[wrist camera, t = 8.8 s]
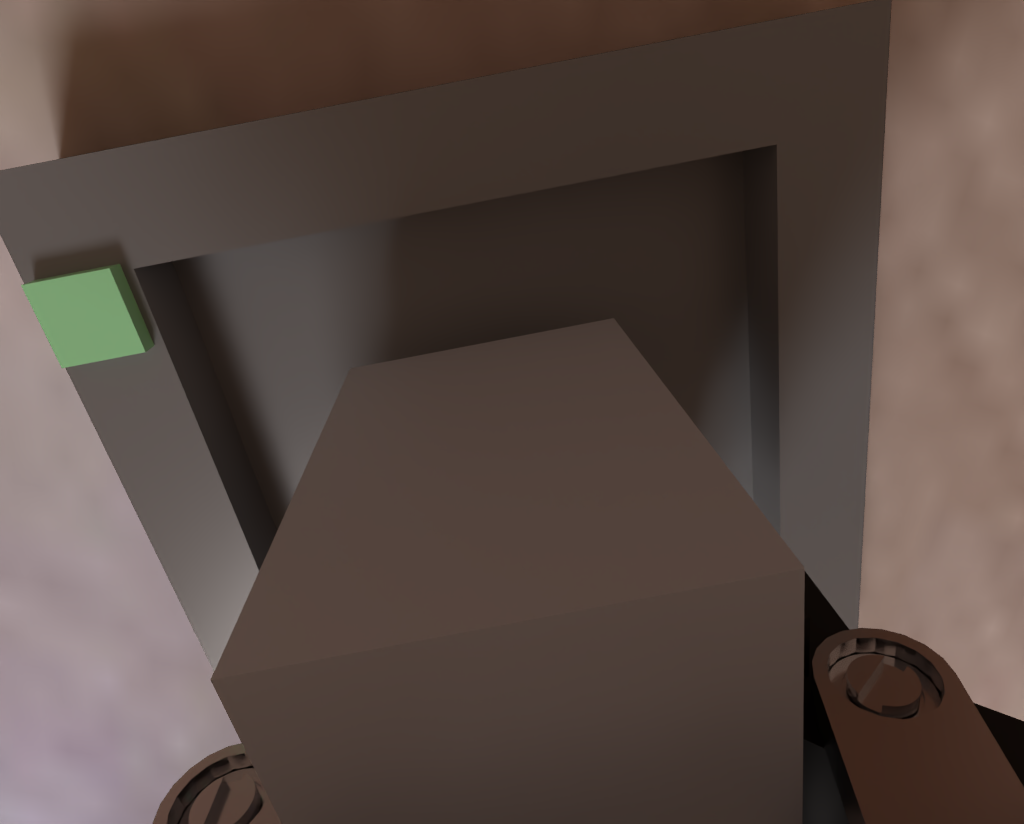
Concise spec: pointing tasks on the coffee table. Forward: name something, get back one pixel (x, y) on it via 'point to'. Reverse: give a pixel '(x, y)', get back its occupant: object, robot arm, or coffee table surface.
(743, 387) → the charging cradle
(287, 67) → the coffee table surface
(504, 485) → the grey rectangular block
